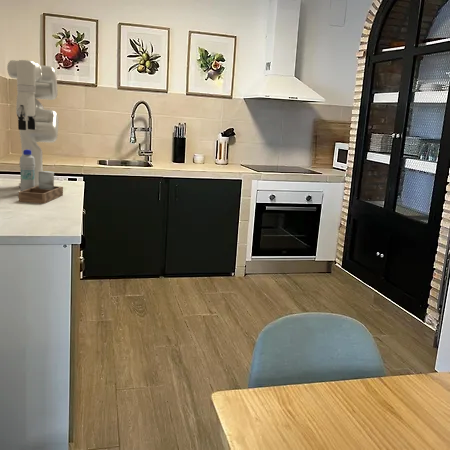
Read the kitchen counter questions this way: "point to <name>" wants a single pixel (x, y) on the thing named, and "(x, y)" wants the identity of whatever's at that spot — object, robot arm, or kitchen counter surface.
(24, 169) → the bottle
